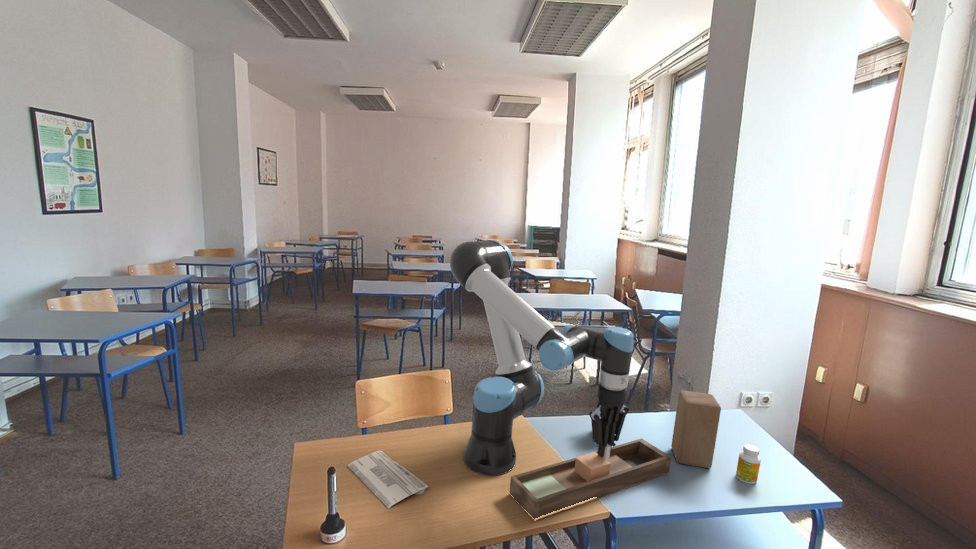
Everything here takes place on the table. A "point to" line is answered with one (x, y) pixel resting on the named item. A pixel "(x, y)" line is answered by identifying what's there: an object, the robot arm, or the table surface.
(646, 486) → the table surface
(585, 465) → the clay block
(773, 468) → the table surface
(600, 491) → the channel
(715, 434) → the block
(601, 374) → the robot arm
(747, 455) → the supplement bottle
